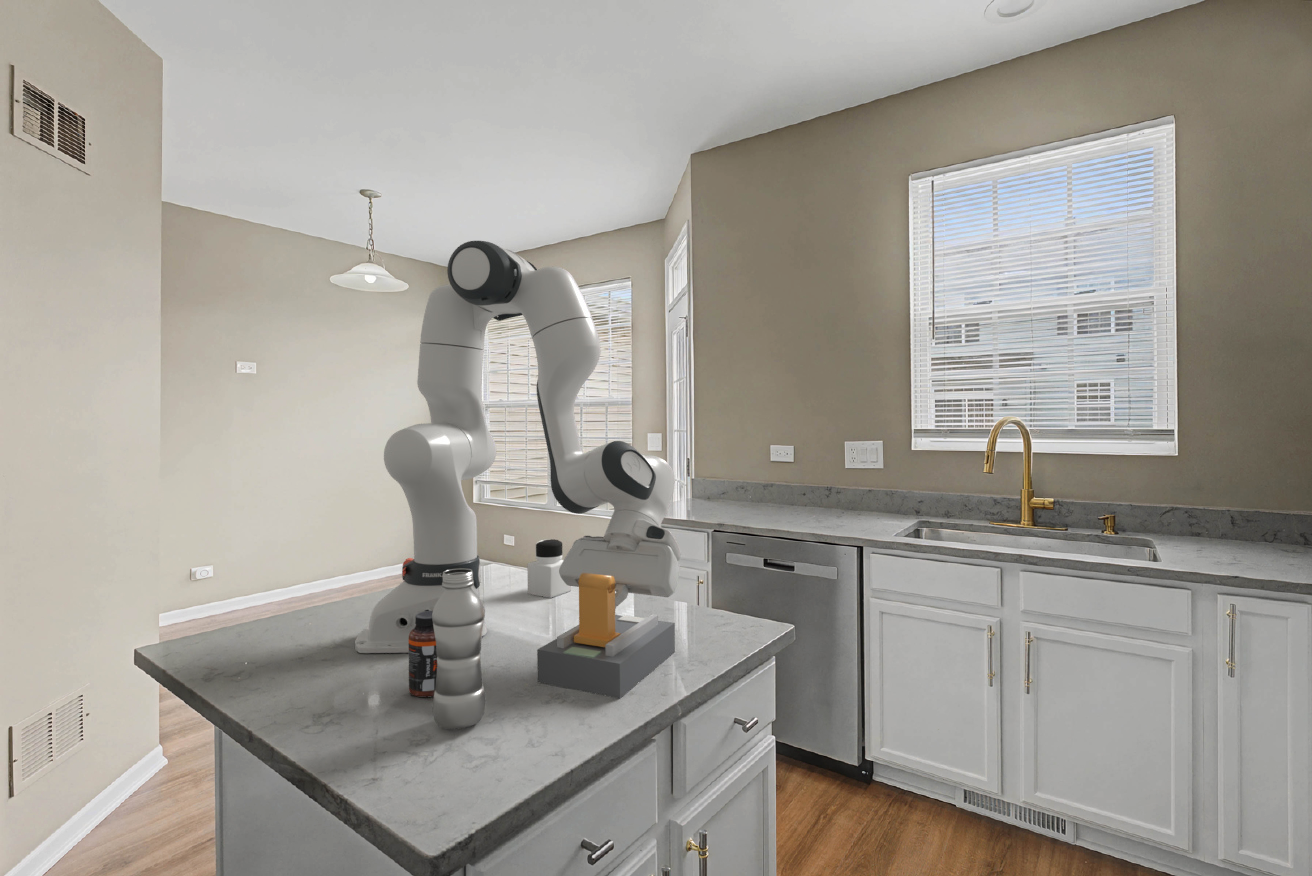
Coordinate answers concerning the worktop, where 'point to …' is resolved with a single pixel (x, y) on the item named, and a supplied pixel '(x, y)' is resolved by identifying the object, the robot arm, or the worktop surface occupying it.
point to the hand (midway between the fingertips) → (602, 612)
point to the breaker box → (607, 657)
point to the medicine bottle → (546, 570)
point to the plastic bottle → (458, 652)
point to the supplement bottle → (422, 656)
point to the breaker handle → (596, 610)
